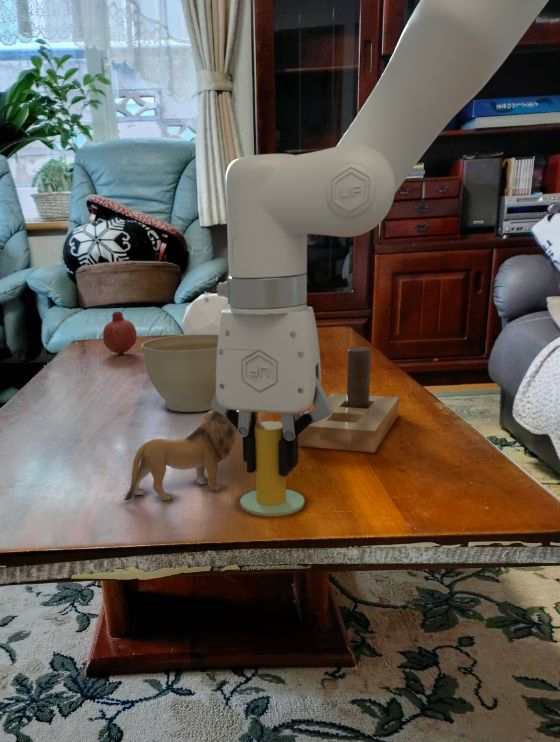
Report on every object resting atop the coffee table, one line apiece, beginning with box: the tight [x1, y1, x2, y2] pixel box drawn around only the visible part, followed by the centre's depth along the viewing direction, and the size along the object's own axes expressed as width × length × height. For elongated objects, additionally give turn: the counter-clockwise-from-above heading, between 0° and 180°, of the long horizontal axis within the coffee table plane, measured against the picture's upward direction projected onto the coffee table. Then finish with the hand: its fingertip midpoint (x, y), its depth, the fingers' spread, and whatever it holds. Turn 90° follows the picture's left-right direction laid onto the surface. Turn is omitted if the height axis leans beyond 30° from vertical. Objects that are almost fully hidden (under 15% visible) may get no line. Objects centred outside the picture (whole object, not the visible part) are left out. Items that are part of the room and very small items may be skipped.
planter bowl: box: [140, 334, 218, 413], centre depth 113 cm, size 16×16×11 cm
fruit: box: [102, 310, 137, 355], centre depth 161 cm, size 8×8×10 cm
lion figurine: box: [123, 409, 238, 501], centre depth 78 cm, size 15×5×9 cm, turn 119°
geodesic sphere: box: [181, 291, 230, 335], centre depth 153 cm, size 15×14×14 cm
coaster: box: [239, 488, 305, 517], centre depth 74 cm, size 7×7×1 cm
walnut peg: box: [346, 346, 372, 409], centre depth 98 cm, size 3×3×11 cm
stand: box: [298, 393, 400, 453], centre depth 97 cm, size 10×17×3 cm, turn 155°
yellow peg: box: [255, 420, 287, 506], centre depth 73 cm, size 3×3×8 cm
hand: (270, 468), depth 73 cm, fingers closed on yellow peg, 3 cm apart
